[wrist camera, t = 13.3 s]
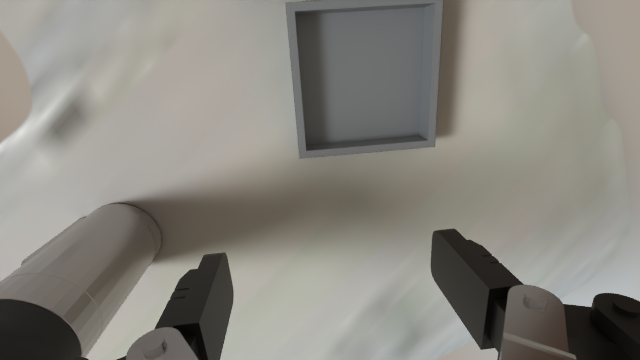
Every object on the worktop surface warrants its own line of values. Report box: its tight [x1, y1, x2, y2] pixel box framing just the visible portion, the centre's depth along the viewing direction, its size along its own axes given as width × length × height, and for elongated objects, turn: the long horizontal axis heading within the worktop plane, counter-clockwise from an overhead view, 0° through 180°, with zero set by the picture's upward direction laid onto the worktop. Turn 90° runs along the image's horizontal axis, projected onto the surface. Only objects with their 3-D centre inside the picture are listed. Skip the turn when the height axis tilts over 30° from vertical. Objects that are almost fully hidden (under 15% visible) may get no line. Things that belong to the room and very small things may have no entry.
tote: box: [286, 0, 443, 159], centre depth 36 cm, size 16×16×4 cm
